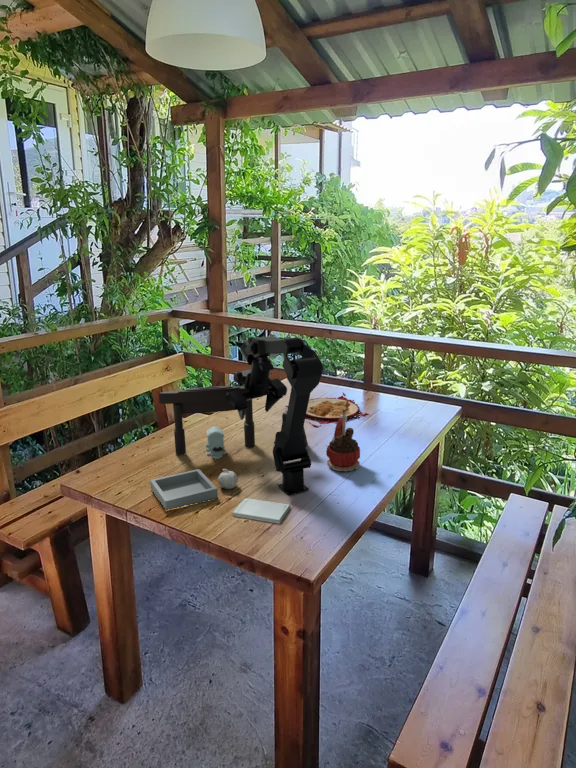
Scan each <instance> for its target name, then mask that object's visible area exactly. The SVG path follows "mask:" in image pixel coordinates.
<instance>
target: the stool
mask: <svg viewBox="0 0 576 768" xmlns="http://www.w3.org/2000/svg"><path fill="white" fill-rule="evenodd" d="M235 390H239V391H240V392H241V393H242V394H244V393H248V389H245V388H244V385H235V386H232V385H219V386H218V385H216V386H203V387H192V388H191V387H190V388H186V389H179V390H178V389H177V390H168V391H163V392H162V391H161V392H159V393H158V402H159V404H162V405H164V404H165V405H171V404H172V408H173V409H172V410H173V417H174V429H173V435H174V448H175V455H177V456H184V455H186V454H187V448H186V446H187V445H186V434H185V428H184V423H183V422H184V421H183V414H186V415H187V414H188V415H189V414H201V413H202V414H203V413H218V412H232V411H236V410H235V409H234V408H233V407H232V406H231V405H230V404H229V403H228V401H227V400H226V395H227V393H229V392H232V391H235ZM263 397H264V396H262V397H261V398H263ZM246 407H247V410H246V413H245V416H244V421H243V429H244V430H243V432H244V434H243V435H244V446H245V448H247V449H254V448H255V447H256V439H255V437H256V436H255V432H256V431H255V421H254V415H253V414H254V413H253V399H251V400H248V401H247V406H246ZM205 433H206V438H207V443H205V447H206V456H208V457H209V456H211V458H213V459H215V460H218V459H221V458H222V457H223V455H226V454H227V453H226V450H225V448H226V447H225V445H224V444H225V443H224V437H225V433H224V430H223V429H222V428H220V427H218V426H214V425H213V426H210V428H209V429H207V430H206V432H205Z"/></svg>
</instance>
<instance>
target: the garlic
mask: <svg viewBox="0 0 576 768" xmlns="http://www.w3.org/2000/svg"><path fill="white" fill-rule="evenodd" d="M221 470H222V472H220V474H219V475H218V478H217V480H218V485H219V486H220V487H221V488H222V489H225V490H232V489H234V488H235V487H236V485H237V483H238V480H239V479H238V476H237V475H238V474H237V473H236V472H234V471H232V470H228V469H227V468H223V469H221Z"/></svg>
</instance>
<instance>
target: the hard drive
mask: <svg viewBox="0 0 576 768" xmlns="http://www.w3.org/2000/svg"><path fill="white" fill-rule="evenodd" d="M290 509H291V505H290V504H287V503H286V504H285V503H279V502H273V501H268V500H260V499H253V498H249V497H247V498H246V497H245V498H244V499H243V500H242V501H240V503H239V505H238V506H236V508H235V509H233V511H232V516H233V517H238V518H243V519H250V520H255V521H261V522H267V523H271V524H272V523H274V524H280V523H282V520H283V519H284V518H285V516H286V515H287V513H288V512H289V511H290Z"/></svg>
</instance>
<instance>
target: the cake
mask: <svg viewBox="0 0 576 768" xmlns="http://www.w3.org/2000/svg"><path fill="white" fill-rule="evenodd" d="M347 421H348V419H347V416H346V409H343V415H340V417H339V420H338V422H336V424H335V428H334V433H333V437H332V439H331V441H329V443H328V444H329V445H327V447H326V450H325V451H326V452H325V453H326V454H325V455H326V457H327V458H328V459H327V464H326V465H327V467H328V468H330V469H332V470H333V471H334V470H335V471H338V472H341V471H342V472H349V471H353V470H357V469H358V468H359V467H360V464H361V463H360V461H359V459H361V447H360V446H359V443H358V442H357V440H356V439H353V437H354V436H353V435H354V431H355V430H354V429H353V428H351V427H347V428H346V425H347V424H346V422H347Z"/></svg>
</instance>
